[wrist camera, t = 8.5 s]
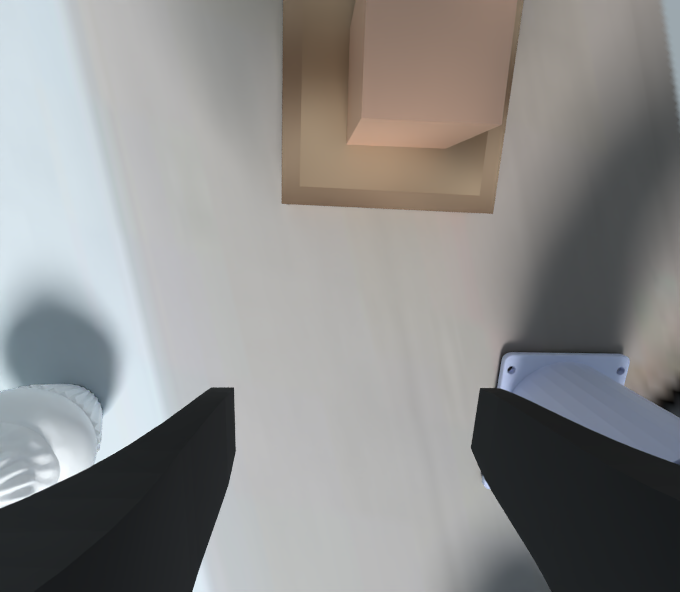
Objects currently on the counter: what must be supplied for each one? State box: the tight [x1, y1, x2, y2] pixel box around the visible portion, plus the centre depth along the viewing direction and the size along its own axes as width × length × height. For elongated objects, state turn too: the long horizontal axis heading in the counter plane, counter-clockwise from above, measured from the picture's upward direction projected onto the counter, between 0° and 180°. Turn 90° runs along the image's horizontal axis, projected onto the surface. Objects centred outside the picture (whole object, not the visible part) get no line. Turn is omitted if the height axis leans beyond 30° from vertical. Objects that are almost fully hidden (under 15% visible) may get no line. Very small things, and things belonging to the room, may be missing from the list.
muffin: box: [0, 384, 103, 508], centre depth 17 cm, size 6×6×7 cm
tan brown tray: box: [282, 0, 524, 214], centre depth 17 cm, size 10×10×3 cm
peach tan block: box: [346, 0, 517, 149], centre depth 13 cm, size 4×4×5 cm
